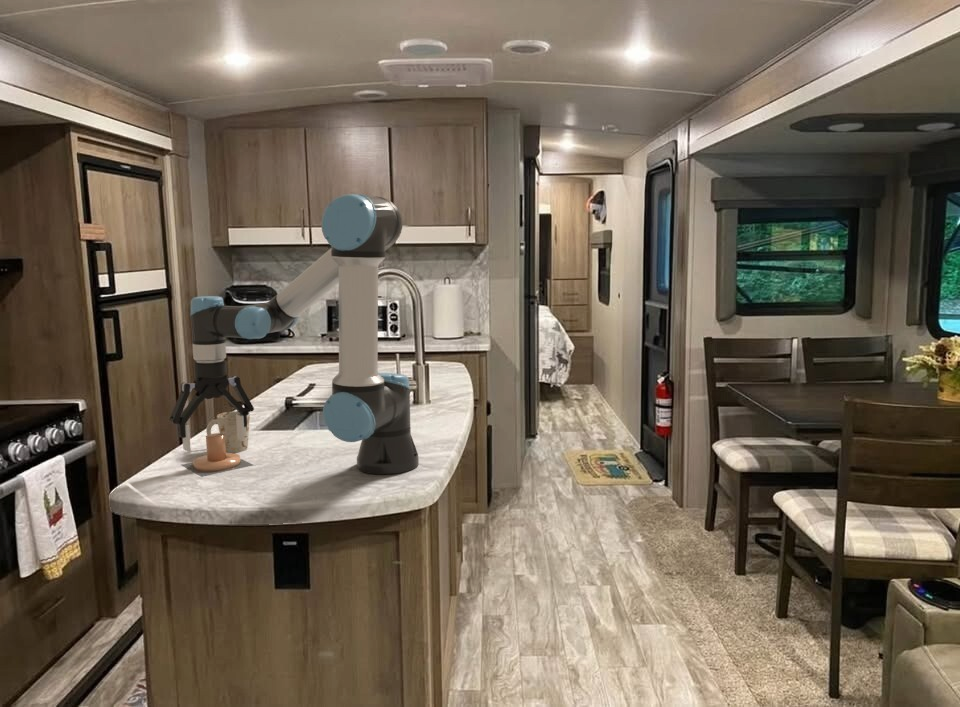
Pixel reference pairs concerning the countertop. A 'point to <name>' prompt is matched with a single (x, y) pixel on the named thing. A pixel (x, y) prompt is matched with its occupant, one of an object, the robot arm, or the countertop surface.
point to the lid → (216, 455)
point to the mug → (230, 431)
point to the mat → (202, 473)
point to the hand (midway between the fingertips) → (214, 445)
